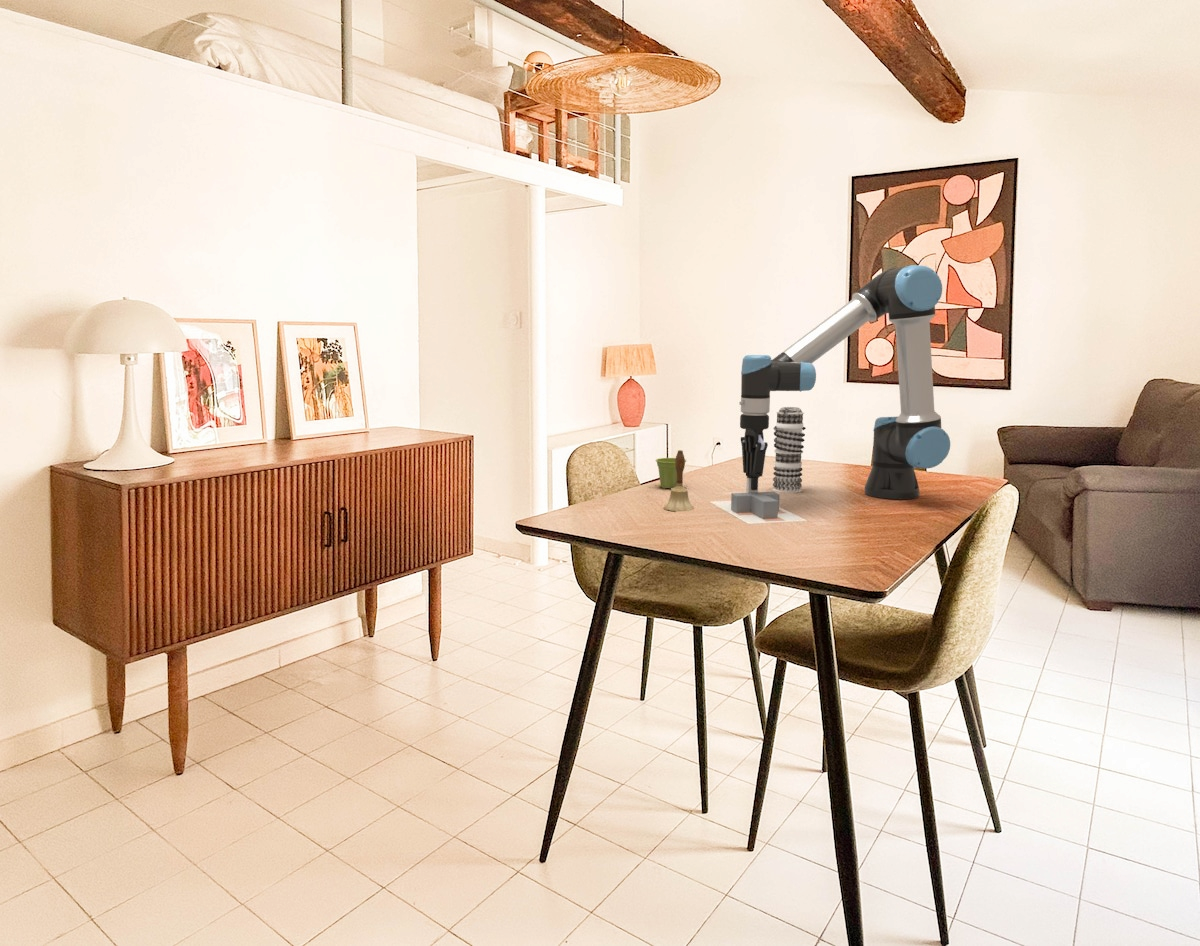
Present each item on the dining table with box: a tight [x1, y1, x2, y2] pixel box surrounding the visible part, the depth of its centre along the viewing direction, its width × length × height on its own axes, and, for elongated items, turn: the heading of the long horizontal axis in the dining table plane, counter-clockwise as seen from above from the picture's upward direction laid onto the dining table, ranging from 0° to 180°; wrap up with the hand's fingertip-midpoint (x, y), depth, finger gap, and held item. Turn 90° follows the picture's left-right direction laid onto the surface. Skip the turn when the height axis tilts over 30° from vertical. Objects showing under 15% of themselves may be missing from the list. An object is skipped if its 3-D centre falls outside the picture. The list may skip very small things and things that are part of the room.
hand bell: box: [663, 449, 695, 512], centre depth 225 cm, size 8×8×16 cm
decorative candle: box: [772, 406, 807, 494], centre depth 250 cm, size 9×9×25 cm
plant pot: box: [655, 457, 687, 489], centre depth 256 cm, size 9×9×9 cm
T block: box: [730, 491, 781, 519], centre depth 218 cm, size 12×12×4 cm
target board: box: [710, 500, 808, 525], centre depth 222 cm, size 16×28×1 cm, turn 12°
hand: (751, 500), depth 225 cm, fingers closed
